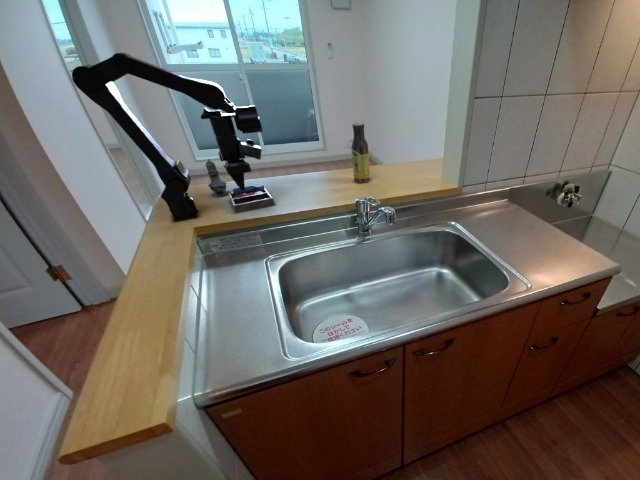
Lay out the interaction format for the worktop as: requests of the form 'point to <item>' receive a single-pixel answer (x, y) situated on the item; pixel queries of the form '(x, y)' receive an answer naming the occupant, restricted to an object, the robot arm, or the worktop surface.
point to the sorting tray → (251, 201)
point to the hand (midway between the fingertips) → (242, 189)
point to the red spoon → (248, 194)
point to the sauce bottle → (360, 154)
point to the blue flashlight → (249, 188)
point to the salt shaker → (216, 181)
